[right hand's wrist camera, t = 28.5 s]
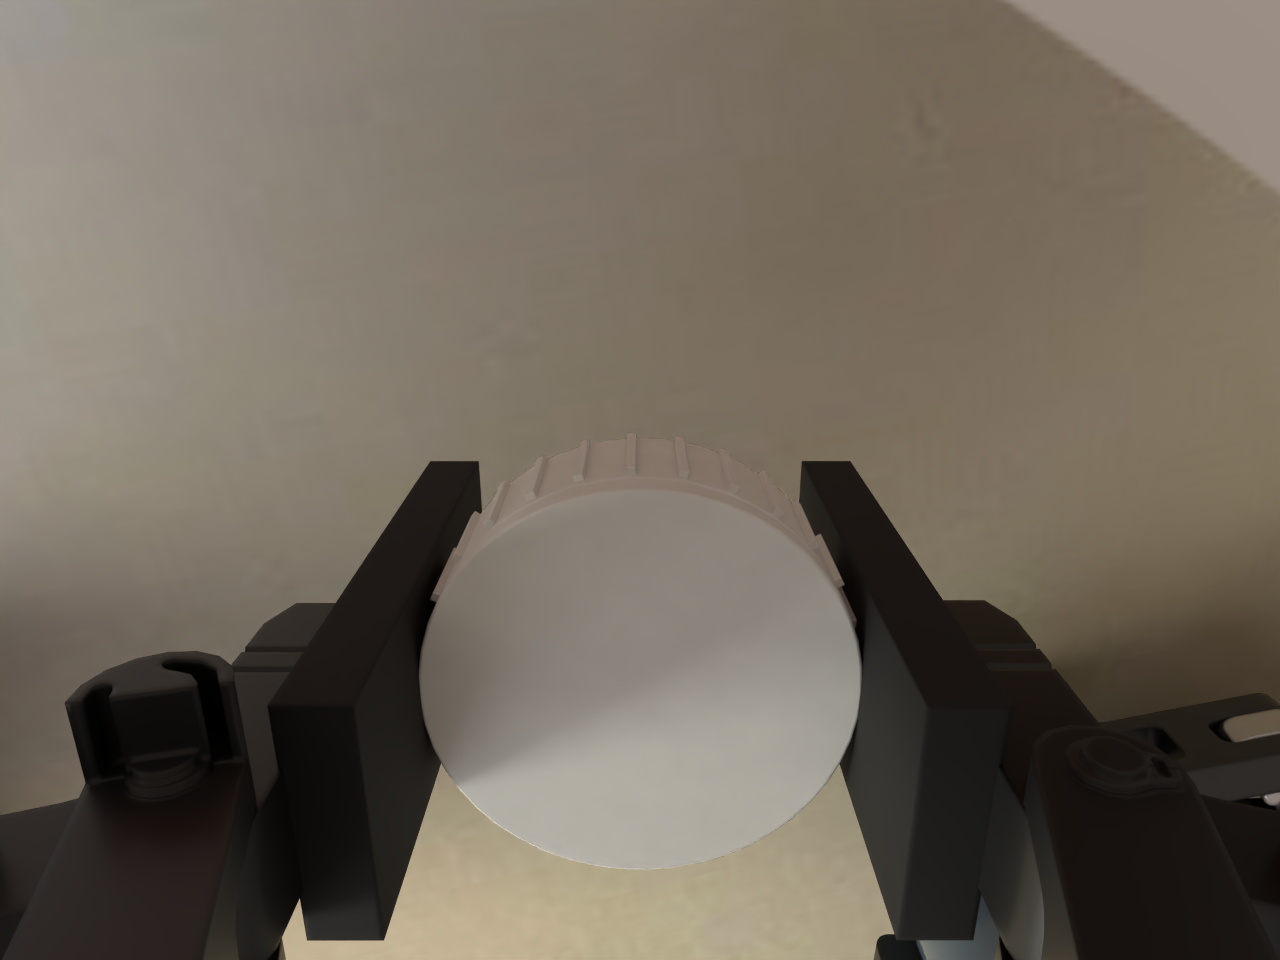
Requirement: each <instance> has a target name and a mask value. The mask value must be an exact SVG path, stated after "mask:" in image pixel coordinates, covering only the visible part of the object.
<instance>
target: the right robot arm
mask: <svg viewBox="0 0 1280 960" xmlns="http://www.w3.org/2000/svg"><path fill="white" fill-rule="evenodd" d="M799 503H800V504H801V506H802V508H803V511H804V513H805V515H806V517H807V520H808V522H809V524H810V526H811V528H812V531H813V533H814V535H815V536H817V535H819V534H821V536H822V538H823V540H824V542H825V544H826V546H827V548H828V550H829V552H830V555H831V557H832V559H833V561H834V563H835V565H836V567H837V569H838V572H839V574H840V576H841V578H842V580H843V582H844V585H843V586H841V587H842V589H843V591H844V593H845V596H846V598H847V600H848V602H849V604H850V607H851V609H852V611H853V613H854V615H855V618H856V620H857V621H856V628H855V631H856V634H857V637H858V640H859V647H860V653H861V660H862V682H861V693H860V703H859V712H858V719H857V722H856V725H855V728H854V732H853V735H852V738H851V741H850V743H849V745H848V747H847V749H846V751H845V754H844V756H843V758H842V760H841V762H840V766H841V769H842V773H843V776H844V779H845V782H846V785H847V788H848V791H849V794H850V797H851V800H852V803H853V807H854V810H855V813H856V816H857V819H858V822H859V825H860V828H861V831H862V834H863V838H864V841H865V844H866V847H867V850H868V853H869V856H870V859H871V862H872V865H873V869H874V872H875V875H876V878H877V881H878V884H879V887H880V890H881V893H882V896H883V900H884V903H885V906H886V909H887V912H888V915H889V918H890V921H891V924H892V927H893V930H894V934H895V937H896V940H974V934H975V928H976V922H977V916H978V911H979V905H980V899H981V895H982V897H983V899H984V901H985V903H986V906H987V908H988V910H989V912H990V914H991V917H992V919H993V921H994V923H995V925H996V928H997V930H998V932H999V936H998V941H997V947H996V952H995V958H994V960H1280V811H1276V810H1271V809H1266V808H1261V807H1256V806H1251V805H1246V804H1241V803H1236V802H1231V801H1227V800H1222V799H1218V798H1214V797H1210V796H1206V795H1203V794H1200V793H1199V791H1198V789H1197V787H1196V785H1195V783H1194V781H1193V780H1192V779H1191V777H1190V776H1189V775H1188V773H1187V772H1186V771H1185V770H1184V768H1183V767H1182V766H1181V765H1180V763H1178V762H1177V761H1176V760H1174V759H1173V758H1171V757H1170V756H1169V755H1167V754H1166V753H1164V752H1163V751H1161V750H1160V749H1159V748H1157V747H1156V746H1154V745H1151V744H1149V743H1147V742H1145V741H1142V740H1140V739H1138V738H1135V737H1133V736H1131V735H1129V734H1126V733H1122V732H1118V731H1114V730H1110V729H1105V728H1102V727H1101V726H1100V724H1099V723H1098V722H1097V721H1096V719H1095V718H1094V717H1093V716H1092V714H1091V713H1090V712H1089V711H1088V709H1087V708H1086V707H1085V705H1084V704H1083V703H1082V702H1081V700H1080V699H1079V698H1078V697H1077V695H1076V694H1075V693H1074V692H1073V690H1072V689H1071V688H1070V687H1069V685H1068V684H1067V683H1066V682H1065V680H1064V679H1063V678H1062V677H1061V675H1060V674H1059V673H1058V672H1057V670H1056V669H1052V667H1051V663H1050V661H1049V660H1048V659H1047V658H1046V656H1045V655H1044V654H1043V653H1042V651H1041V650H1040V649H1036V644H1035V643H1034V641H1033V640H1032V639H1031V638H1030V636H1029V635H1028V634H1027V633H1026V631H1025V630H1024V629H1023V628H1022V626H1021V625H1020V624H1019V622H1018V621H1017V620H1015V619H1014V618H1012V617H1010V616H1009V615H1007V614H1006V613H1004V612H1002V611H1001V610H999V609H998V608H996V607H994V606H993V605H991V604H990V603H988V602H986V601H985V600H942V598H941V597H940V595H939V594H938V592H937V591H936V589H935V588H934V586H933V585H932V583H931V582H930V580H929V579H928V577H927V576H926V574H925V573H924V571H923V570H922V568H921V567H920V565H919V564H918V562H917V561H916V559H915V558H914V556H913V555H912V553H911V552H910V550H909V549H908V547H907V546H906V544H905V543H904V541H903V540H902V538H901V537H900V535H899V534H898V532H897V531H896V529H895V528H894V526H893V525H892V523H891V522H890V520H889V519H888V517H887V516H886V514H885V513H884V511H883V510H882V508H881V507H880V505H879V504H878V502H877V501H876V499H875V498H874V496H873V495H872V493H871V492H870V490H869V489H868V487H867V486H866V484H865V483H864V481H863V480H862V478H861V477H860V475H859V474H858V472H857V471H856V469H855V468H854V466H853V465H852V463H851V462H850V461H802V468H801V483H800V498H799ZM475 511H476V512H478V513H479V514H481V513H482V504H481V489H480V474H479V461H430V463H429V464H428V466H427V467H426V469H425V470H424V472H423V473H422V475H421V476H420V478H419V479H418V481H417V482H416V484H415V485H414V487H413V488H412V490H411V491H410V493H409V494H408V496H407V497H406V499H405V500H404V502H403V503H402V505H401V506H400V508H399V509H398V511H397V512H396V514H395V515H394V517H393V518H392V520H391V521H390V523H389V524H388V526H387V527H386V529H385V530H384V531H383V533H382V534H381V536H380V537H379V539H378V540H377V542H376V543H375V545H374V546H373V548H372V549H371V551H370V552H369V554H368V555H367V557H366V558H365V560H364V561H363V563H362V564H361V566H360V567H359V569H358V570H357V572H356V573H355V575H354V576H353V578H352V579H351V581H350V582H349V584H348V585H347V587H346V588H345V590H344V591H343V593H342V594H341V596H340V597H339V599H338V600H337V602H336V603H296V604H295V605H293V606H291V607H290V608H288V609H287V610H285V611H283V612H282V613H280V614H279V615H277V616H275V617H274V618H272V619H271V620H269V621H267V622H266V623H264V624H263V626H262V627H261V628H260V629H259V631H258V632H257V633H256V635H255V636H254V637H253V638H252V640H251V641H250V642H249V643H248V645H247V646H246V647H245V652H241V654H240V655H239V656H238V657H237V659H236V660H235V661H234V662H233V664H232V665H230V664H229V663H227V662H226V661H225V660H223V659H222V658H221V657H220V656H216V655H212V654H207V653H203V652H198V651H189V652H166V653H162V654H157V655H152V656H147V657H142V658H137V659H134V660H132V661H129V662H127V663H124V664H121V665H119V666H116V667H113V668H111V669H108V670H106V671H104V672H102V673H101V674H99V675H97V676H96V677H94V678H92V679H91V680H89V681H88V682H86V683H84V684H83V685H81V686H80V687H79V688H78V689H77V690H76V691H75V692H74V693H73V694H72V696H71V697H70V698H69V699H68V700H67V701H66V702H65V706H66V710H67V713H68V717H69V721H70V725H71V729H72V732H73V736H74V740H75V744H76V748H77V751H78V755H79V759H80V763H81V767H82V771H83V774H84V778H85V782H86V784H85V786H84V788H83V790H82V793H81V795H80V797H79V798H78V799H74V800H71V801H67V802H63V803H59V804H54V805H49V806H44V807H39V808H34V809H30V810H25V811H20V812H15V813H10V814H5V815H0V960H286V958H285V952H284V947H283V941H282V936H283V934H284V931H285V929H286V927H287V925H288V923H289V920H290V918H291V916H292V914H293V912H294V909H295V907H296V905H297V903H298V901H299V898H300V901H301V907H302V913H303V919H304V925H305V931H306V936H307V940H384V938H385V935H386V932H387V929H388V926H389V923H390V920H391V917H392V914H393V911H394V907H395V904H396V901H397V898H398V895H399V892H400V889H401V886H402V883H403V880H404V877H405V873H406V870H407V867H408V864H409V861H410V858H411V855H412V852H413V849H414V846H415V842H416V839H417V836H418V833H419V830H420V827H421V824H422V821H423V818H424V815H425V811H426V808H427V805H428V802H429V799H430V796H431V793H432V790H433V787H434V784H435V780H436V777H437V774H438V771H439V768H440V765H441V761H440V759H439V757H438V755H437V754H436V752H435V750H434V748H433V745H432V743H431V740H430V737H429V734H428V732H427V729H426V726H425V723H424V718H423V713H422V706H421V696H420V686H419V662H420V652H421V646H422V642H423V639H424V635H425V631H426V627H427V624H428V621H429V619H430V617H431V614H432V612H433V610H434V607H435V605H436V603H437V602H434V601H432V600H430V599H431V596H432V594H433V591H434V589H435V587H436V585H437V583H438V581H439V578H440V576H441V574H442V572H443V570H444V568H445V566H446V563H447V561H448V559H449V557H450V555H451V553H452V551H453V548H457V546H458V544H459V542H460V539H461V537H462V535H463V533H464V531H465V529H466V526H467V524H468V522H469V520H470V518H471V516H472V514H473V513H474V512H475Z"/></svg>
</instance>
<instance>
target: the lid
mask: <svg viewBox="0 0 1280 960" xmlns="http://www.w3.org/2000/svg"><path fill="white" fill-rule="evenodd" d="M843 585H844V582H843V580H842V578H841V576H840V574H839V572H838V569H837V567H836V565H835V563H834V561H833V559H832V557H831V555H830V552H829V550H828V548H827V546H826V544H825V542H824V540H823V538H822V536H821V534H819V535H817V536H815V535H814V533H813V531H812V528H811V526H810V524H809V522H808V520H807V517H806V515H805V513H804V511H803V508H802V506H801V504H800V503H799V502H798V501H797V500H796V499H795V500H794V501H792V502H790V501H789V500H788V499H787V498H786V497H785V496H784V495H783V493H782V492H781V491H779V490H778V489H777V488H776V487H775V486H773V484H772V482H771V479H770V477H769V474H768V473H766V472H765V471H764V470H762V471H761V472H760V473H759V474H758V473H756V472H755V471H753V470H752V469H750V468H748V467H747V466H745V465H743V464H742V463H740V462H738V461H736V460H734V459H732V458H731V457H730V453H729V451H727V450H725V449H723V448H721V450H720V452H719V453H718V452H716V451H713V450H710V449H707V448H703V447H700V446H697V445H693V444H690V443H685V442H684V437H681V436H675V440H674V441H673V440H667V439H654V438H636V433H628V434H627V439H615V440H607V441H602V442H597V443H593V444H590V442H589V439H586V440H582V441H580V446H579V447H577V448H574V449H572V450H569V451H566V452H563V453H560V454H557V455H555V456H553V457H551V458H549V459H546V457H545V455H543V456H541V457H539V458H537V460H536V463H535V466H534V467H532V468H531V469H529V470H528V471H526V472H525V473H523V474H522V475H520V476H519V477H517V478H516V479H515V480H513V481H512V482H511V483H509V482H508V481H507V480H504V481H503V482H502V483H501V484H500V485H499V488H498V490H497V493H496V495H495V497H494V498H493V500H492V501H491V502H490V503H489V504H488V506H487V507H486V508H485V509H484V510H483V512H482V513H481V514H479V513H478V512H476V511H475V512H474V513H473V514H472V516H471V518H470V520H469V522H468V524H467V526H466V529H465V531H464V533H463V535H462V537H461V539H460V542H459V544H458V546H457V548H453V551H452V553H451V555H450V557H449V559H448V561H447V563H446V566H445V568H444V570H443V572H442V574H441V576H440V578H439V581H438V583H437V585H436V587H435V589H434V591H433V594H432V596H431V599H430V600H432V601H434V602H437V603H436V605H435V607H434V610H433V612H432V614H431V617H430V619H429V621H428V624H427V627H426V631H425V635H424V639H423V642H422V646H421V652H420V662H419V686H420V696H421V706H422V713H423V718H424V723H425V726H426V729H427V732H428V734H429V737H430V740H431V743H432V745H433V748H434V750H435V752H436V754H437V755H438V757H439V759H440V761H441V763H442V765H443V767H444V769H445V770H446V772H447V773H448V774H449V776H450V777H451V778H452V780H453V781H454V783H455V784H456V785H457V787H458V788H459V790H460V791H461V792H462V793H463V794H464V795H465V796H466V797H467V798H468V799H469V800H470V801H471V802H472V803H473V804H474V805H475V807H476V808H477V809H479V810H480V811H481V812H482V813H484V814H485V815H486V816H487V817H488V818H490V819H491V820H492V821H493V822H494V823H496V824H497V825H498V826H500V827H502V828H503V829H505V830H506V831H508V832H509V833H511V834H512V835H514V836H516V837H517V838H519V839H521V840H523V841H525V842H527V843H529V844H531V845H533V846H535V847H537V848H539V849H541V850H544V851H546V852H549V853H552V854H554V855H557V856H560V857H563V858H565V859H569V860H573V861H577V862H581V863H585V864H589V865H595V866H602V867H609V868H616V869H639V870H648V869H663V868H674V867H679V866H685V865H691V864H697V863H701V862H704V861H708V860H711V859H715V858H718V857H722V856H725V855H727V854H729V853H732V852H734V851H737V850H739V849H742V848H744V847H747V846H749V845H751V844H752V843H754V842H756V841H758V840H760V839H762V838H764V837H765V836H767V835H769V834H771V833H772V832H774V831H775V830H776V829H778V828H779V827H781V826H782V825H784V824H785V823H786V822H788V821H789V820H791V819H792V818H793V817H794V816H795V815H796V814H798V813H799V812H800V811H801V810H802V809H803V808H804V807H805V806H806V805H808V804H809V803H810V802H811V801H812V799H813V798H814V797H815V796H816V795H817V794H818V793H819V791H820V790H821V789H822V788H823V787H824V786H825V784H826V783H827V782H828V780H829V779H830V777H831V776H832V774H833V773H834V771H835V770H836V768H837V767H838V765H839V764H840V762H841V760H842V758H843V756H844V754H845V751H846V749H847V747H848V745H849V743H850V741H851V738H852V735H853V732H854V728H855V725H856V722H857V719H858V712H859V703H860V693H861V682H862V660H861V653H860V647H859V640H858V637H857V634H856V631H855V628H856V621H857V620H856V618H855V615H854V613H853V611H852V609H851V607H850V604H849V602H848V600H847V598H846V596H845V593H844V591H843V589H842V587H841V586H843Z"/></svg>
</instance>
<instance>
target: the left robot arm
mask: <svg viewBox="0 0 1280 960" xmlns="http://www.w3.org/2000/svg"><path fill="white" fill-rule="evenodd" d="M1099 724H1100V726H1101V727H1102V728H1105V729H1110V730H1114V731H1118V732H1122V733H1126V734H1129V735H1131V736H1133V737H1135V738H1138V739H1140V740H1142V741H1145V742H1147V743H1149V744H1151V745H1154V746H1156V747H1157V748H1159V749H1160V750H1161V751H1163V752H1164V753H1166V754H1167V755H1169V756H1170V757H1171V758H1173V759H1174V760H1176V761H1177V762H1178V763H1180V765H1181V766H1182V767H1183V768H1184V770H1185V771H1186V772H1187V773H1188V775H1189V776H1190V777H1191V779H1192V780H1193V781H1194V783H1195V785H1196V787H1197V789H1198V791H1199V793H1200V794H1203V795H1206V796H1210V797H1214V798H1218V799H1222V800H1227V801H1231V802H1236V803H1241V804H1246V805H1251V806H1256V807H1261V808H1266V809H1271V810H1276V811H1280V705H1279V704H1278V703H1277V702H1276V701H1275V700H1273V699H1272V698H1271V697H1270V696H1268V695H1266V694H1262V693H1255V694H1250V695H1244V696H1239V697H1234V698H1229V699H1224V700H1218V701H1213V702H1208V703H1203V704H1198V705H1192V706H1187V707H1182V708H1177V709H1172V710H1166V711H1161V712H1156V713H1151V714H1146V715H1140V716H1135V717H1130V718H1125V719H1120V720H1114V721H1109V722H1104V723H1099ZM874 960H922V958H921V955H920V952H919V949H918V946H917V944H916V941H915V940H896V937H895V935H894V934H886V935H883V936H881V937H880V938H879V939H878V940H877V945H876V950H875V956H874Z"/></svg>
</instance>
